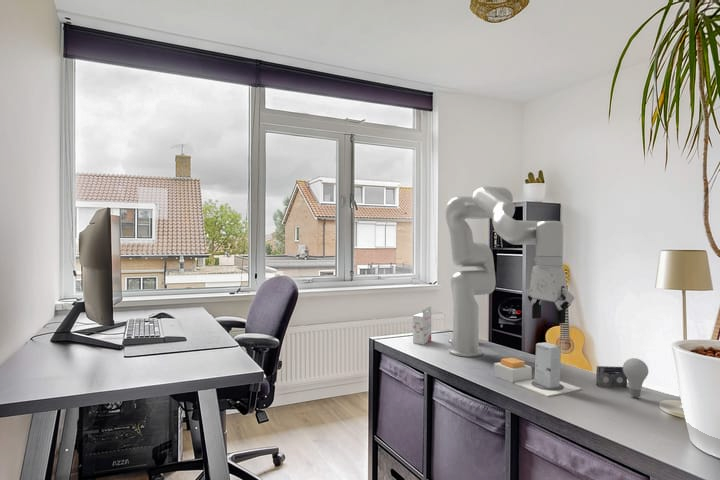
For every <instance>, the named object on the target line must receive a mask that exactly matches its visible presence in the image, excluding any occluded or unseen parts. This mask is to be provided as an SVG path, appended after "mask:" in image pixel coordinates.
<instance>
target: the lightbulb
mask: <svg viewBox="0 0 720 480" xmlns="http://www.w3.org/2000/svg"><path fill="white" fill-rule="evenodd" d="M622 367H623V372H624V374H625V376H626V377H627V384H628V388H629V395H630V396H632V398H635V399H637V398H640V397H641V392H642V389H643V384H644V381H645V380H646V378H647V376H648V375H649V367H648V365H647V363H646V362H644V360H642V359H639V358H637V357H635V358H629V359H627V360H626V361H624V363H623V365H622Z"/></svg>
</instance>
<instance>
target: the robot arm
mask: <svg viewBox="0 0 720 480" xmlns="http://www.w3.org/2000/svg"><path fill="white" fill-rule="evenodd" d="M513 202H514V197H513V194H512V192H511V191H510V190H509V189H508V188H506V187H502V186H501V187H500V186H487V185H486V186H482V187H478V188H477V189H475V190H474V192H473V194H472V196H463V195H462V196H456V197H453V198H451V199H450V200H449V201H448V202H447V204H446V207H445V220H446V224H447V227H448V231H449V236H450V239H449V240H450V248H451V256H452V262H453V264H454V265H455V266H456V267H459V268H475V269H471V270H470V269H469V270H461V271H456V272H455V273H454V274H452V276H451V279H450V287H451V292H452V303H453V305H452V309H453V311H452V312H453V313H452V315H453V316H452V324H453V325H452V331H453V332H452V337H451V339H448V343H449V344H451V346H450V347H449V348H448V353H449V354H452V355H453V356H457V357H458V356H459V357H465V358H467V357H469V358H471V357H472V358H473V357H475V358H476V357H481V356H482V355H483V350H482V349H480V348H479V331H480V330H479V322H480V321H479V318H480V317H479V314H480V313H479V311H480V310H479V303H478V302H477V300H476V299H475V296H481V295H482V296H483V295H490V294H492V293H493V292H494V290H495V289H496V286H497V285H496V283H497V282H496V271H495V262H494V255H493V252H492V249H491V248H490V246H489V245H488V244H486V243H483V242H475V241H474V238H473V230H472V229H471V227H470V225H469V224H468V221H466V219H468V220H469V219H470V220H486V219H491V221H492V227H493V229H494V230H493V231H494V232H495V233H496V234H497V235H498V236H499V237H500V238H502V240H504V241H505V242H507V243H508V244H511V245H515V246H516V245H517V246H518V245H522V246H523V245H525V246H528V245H529V246H531V245H534V246H535V257H534V258H533V262H534V263H535V265H534V266H533V267H532V271H531V274H530V283H529V287H528V288H527V289H526V290H525V293H526V296H527V299H528V302H529V303H530V304H529V305H530V306H532V307H531V312H532V313H531V319H534V320H535V319H541V318H542V305H541V302H542V301H545V302H551V303H554V304H555V307H556V308H557V309H555V324H557V325H560V324H561V325H562V324H565V323H566V311H567V310H568V309H569V308H570V306H571V304H572V303H573V301H574V300H575V296H574V295H573V294H572V293H571V292H570V291H569V290H568V288H567V287H568V285H567V277H566V270H565V267H563V265H564V263H563V262H564V259H563V258H564V256H563V255H564V225H563V222H562V221H559V220H542V221H541V220H516V219H515V218H513V217H514V214H515V211H516V206H515V204H514V203H513Z"/></svg>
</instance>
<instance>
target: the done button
mask: <svg viewBox="0 0 720 480" xmlns="http://www.w3.org/2000/svg"><path fill="white" fill-rule="evenodd" d="M500 362H501V364H502V365H504V366H507V367H510V368H519V367H524V364H525V360H521V359H518V358H516V357H513V356H512V357H508V358H501V359H500Z"/></svg>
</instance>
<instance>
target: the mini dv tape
mask: <svg viewBox="0 0 720 480" xmlns="http://www.w3.org/2000/svg"><path fill="white" fill-rule="evenodd" d="M595 374H596V376H595V377H596V378H595V379H596V380H595V381H596V384H595V385H596V386H597V387H598V388H620V387H623V388H624V389H625V388H626V389H627V388H628V380H627V377H626V376H625V374H624V372H623V366H607V365H606V366H601V365H600V366H599V365H597V366H596V373H595Z"/></svg>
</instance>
